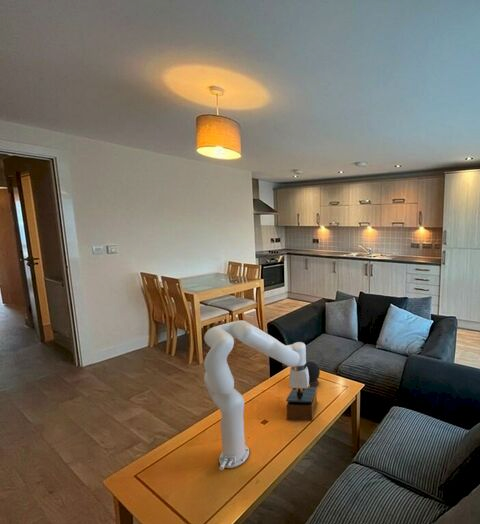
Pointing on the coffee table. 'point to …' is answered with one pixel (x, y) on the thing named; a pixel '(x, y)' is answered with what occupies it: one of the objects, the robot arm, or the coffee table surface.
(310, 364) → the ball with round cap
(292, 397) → the blue-grey square panel
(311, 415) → the brown box
